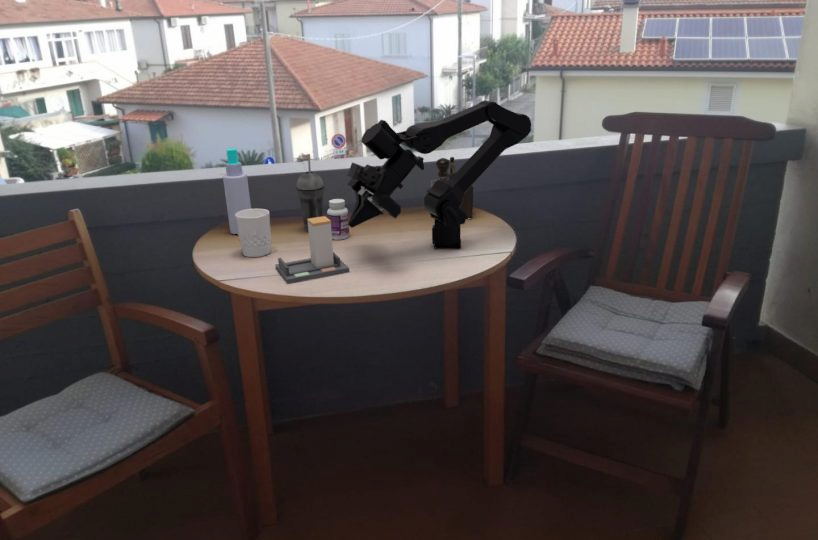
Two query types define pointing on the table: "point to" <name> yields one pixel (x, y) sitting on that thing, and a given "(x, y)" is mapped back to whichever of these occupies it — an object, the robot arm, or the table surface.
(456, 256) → the table surface
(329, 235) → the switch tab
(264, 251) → the white cup
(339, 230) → the pill bottle
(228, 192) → the spray bottle
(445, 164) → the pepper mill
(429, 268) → the table surface
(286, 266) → the switch board
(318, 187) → the beverage cup
